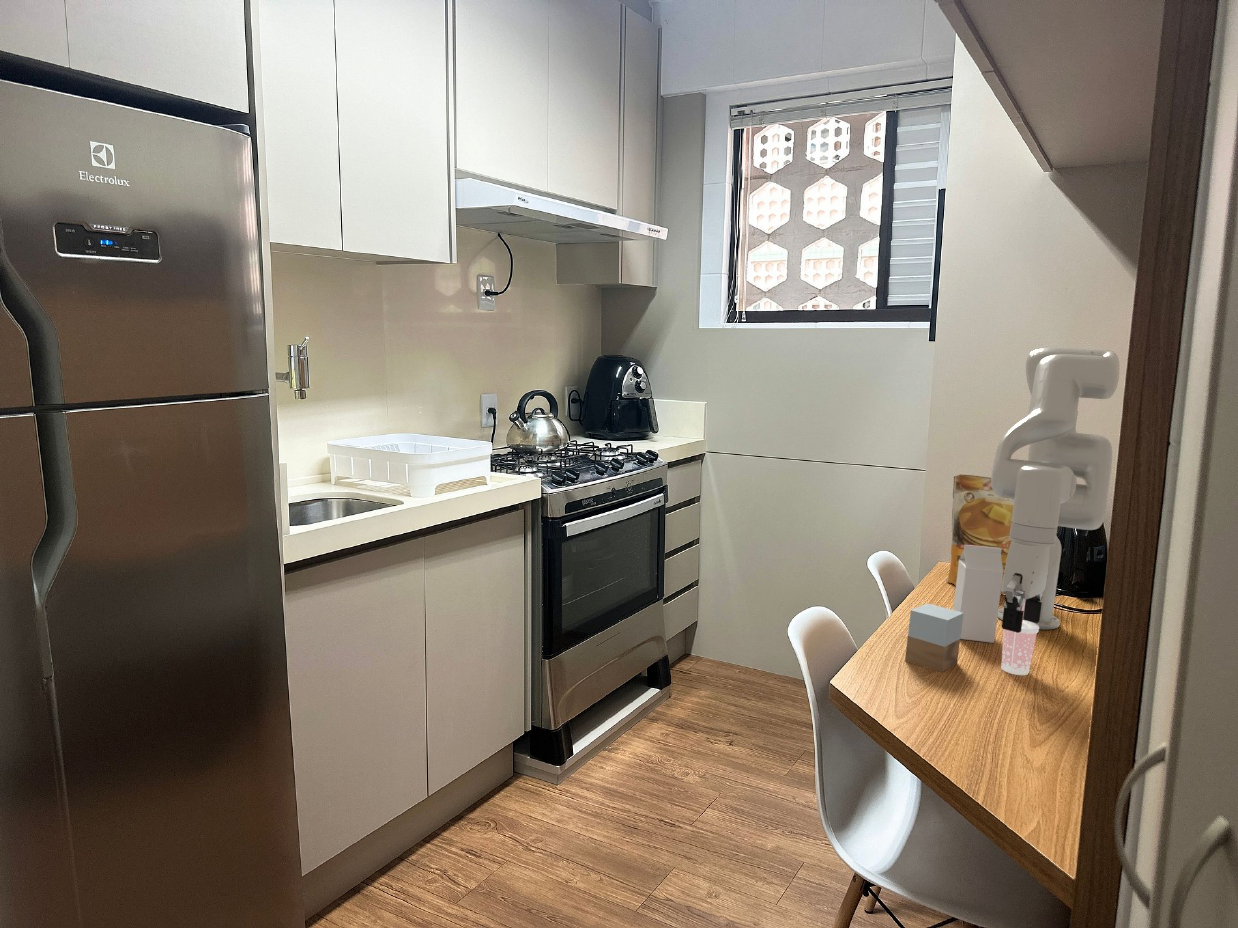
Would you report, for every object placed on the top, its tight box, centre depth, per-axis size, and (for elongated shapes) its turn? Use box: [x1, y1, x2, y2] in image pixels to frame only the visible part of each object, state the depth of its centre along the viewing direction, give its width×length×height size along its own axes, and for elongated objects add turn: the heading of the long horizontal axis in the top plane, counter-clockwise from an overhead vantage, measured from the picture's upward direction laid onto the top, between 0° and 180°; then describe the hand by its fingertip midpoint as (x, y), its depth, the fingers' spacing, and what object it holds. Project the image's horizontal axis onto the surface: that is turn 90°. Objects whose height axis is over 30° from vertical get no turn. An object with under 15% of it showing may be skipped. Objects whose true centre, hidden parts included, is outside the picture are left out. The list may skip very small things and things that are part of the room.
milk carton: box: [952, 545, 1003, 644], centre depth 172 cm, size 7×7×19 cm
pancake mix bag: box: [945, 474, 1014, 594], centre depth 208 cm, size 7×19×28 cm, turn 56°
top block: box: [907, 602, 964, 647], centre depth 156 cm, size 7×7×5 cm
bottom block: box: [904, 635, 961, 673], centre depth 157 cm, size 7×7×5 cm
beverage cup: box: [1000, 600, 1040, 676], centre depth 154 cm, size 6×6×14 cm
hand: (1020, 625), depth 153 cm, fingers open, 9 cm apart
